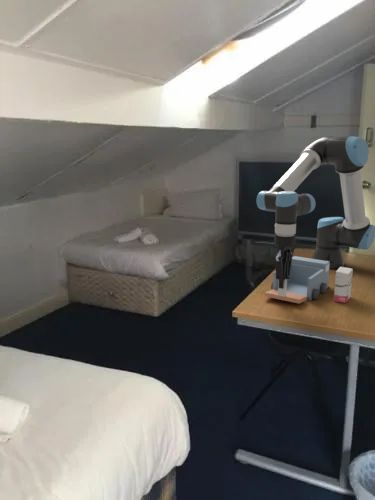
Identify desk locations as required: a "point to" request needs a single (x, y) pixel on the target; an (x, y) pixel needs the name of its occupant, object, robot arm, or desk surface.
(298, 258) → the pickup bed
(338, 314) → the desk surface
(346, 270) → the ink box
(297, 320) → the desk surface
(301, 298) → the tailgate
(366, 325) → the desk surface
